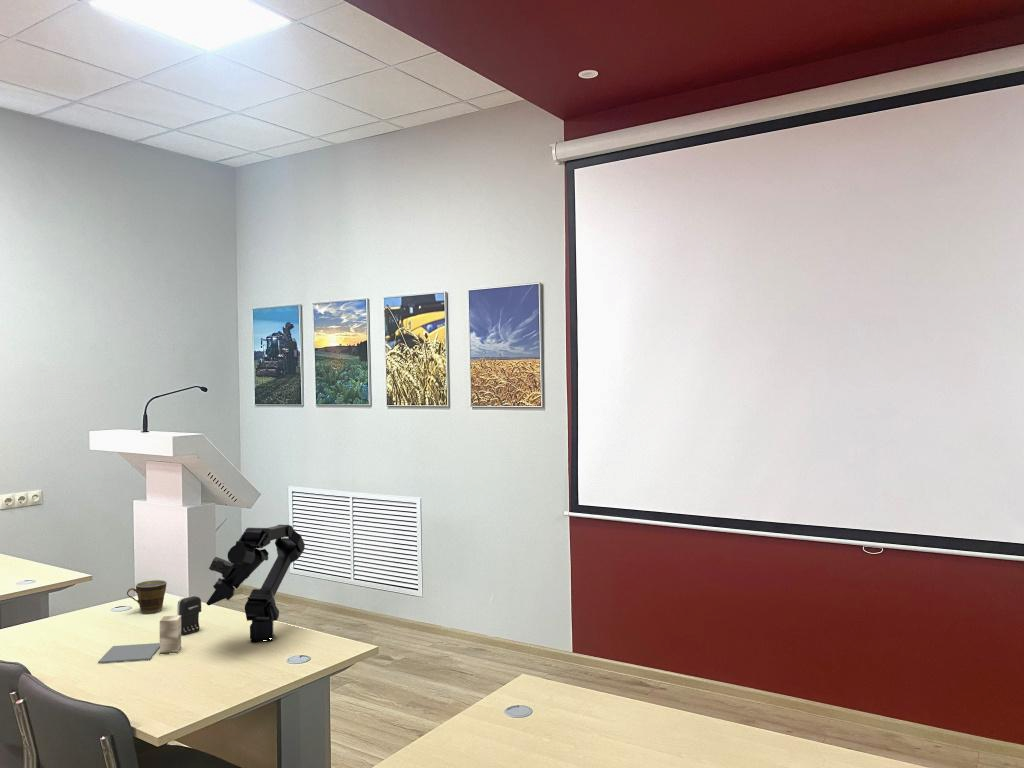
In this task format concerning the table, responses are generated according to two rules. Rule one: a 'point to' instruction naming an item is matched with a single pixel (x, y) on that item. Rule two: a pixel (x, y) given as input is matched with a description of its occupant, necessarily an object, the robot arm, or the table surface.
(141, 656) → the mat
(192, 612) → the battery charger
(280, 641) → the table surface
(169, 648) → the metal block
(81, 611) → the table surface
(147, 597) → the ceramic cup
